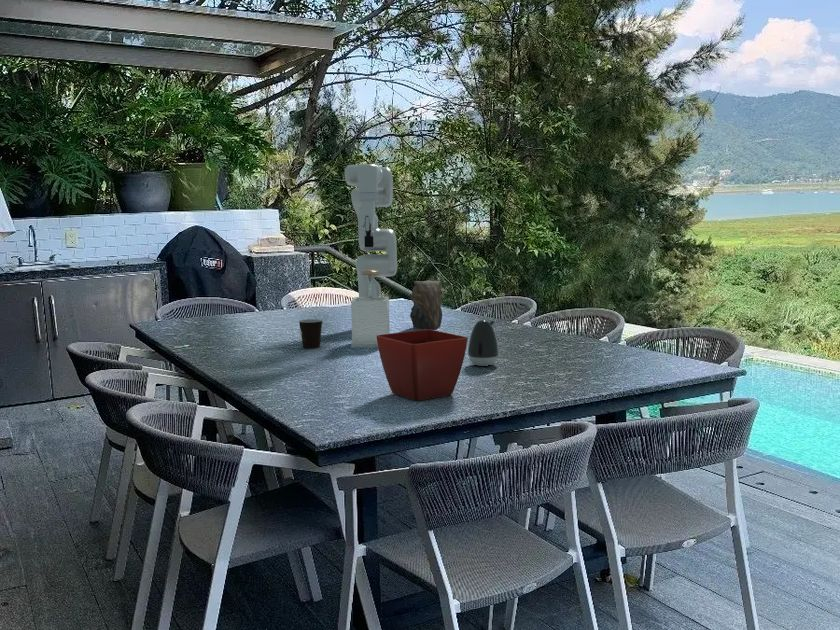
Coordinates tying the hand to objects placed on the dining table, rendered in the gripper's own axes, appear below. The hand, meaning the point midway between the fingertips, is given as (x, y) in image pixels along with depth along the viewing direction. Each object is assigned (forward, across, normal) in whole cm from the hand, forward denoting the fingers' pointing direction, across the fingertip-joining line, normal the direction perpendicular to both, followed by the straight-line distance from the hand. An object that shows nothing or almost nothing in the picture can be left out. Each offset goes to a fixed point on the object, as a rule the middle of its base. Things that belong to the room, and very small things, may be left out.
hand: (369, 246), depth 324 cm
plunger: (+26, 0, 0) cm, 26 cm away
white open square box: (+37, 0, 0) cm, 37 cm away
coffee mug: (+37, +3, -22) cm, 43 cm away
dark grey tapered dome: (+38, +43, +41) cm, 70 cm away
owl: (+37, -42, +21) cm, 60 cm away
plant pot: (+38, +85, +22) cm, 96 cm away
